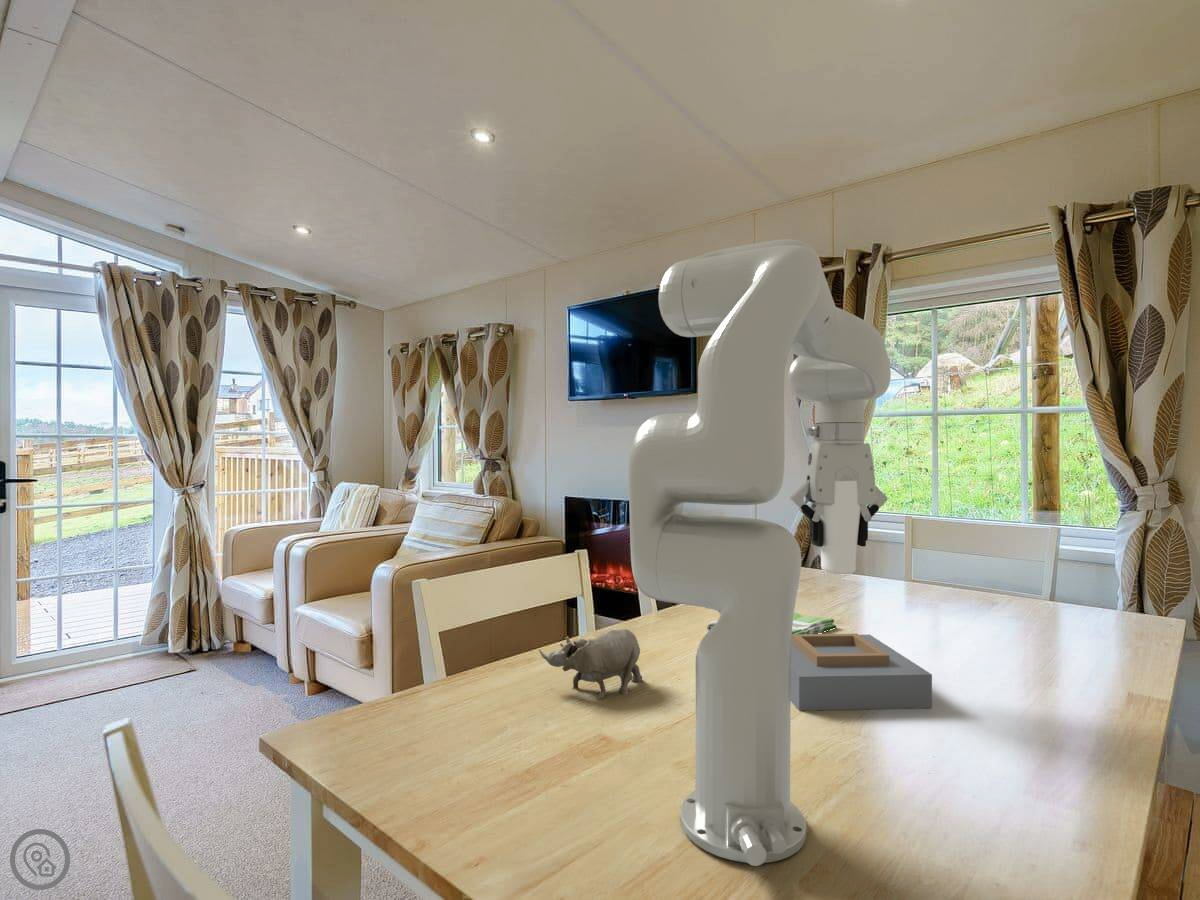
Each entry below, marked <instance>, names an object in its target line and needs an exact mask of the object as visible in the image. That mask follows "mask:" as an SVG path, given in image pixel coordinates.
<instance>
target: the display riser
mask: <svg viewBox="0 0 1200 900" xmlns="http://www.w3.org/2000/svg"><path fill="white" fill-rule="evenodd" d="M932 692H933V674H932V673H931V672H929V671H928V670H926V669H924V668H923V667H921V666H919V665H918V664H916V663H915V662H913V661H911V660H910V659H908V658H907V657H906V656H905V655H902V654H901V653H899V652H898V651H896V650H894V649H893V648H892V647H889V646H888V645H886V644H885V643H884V642H882V641H880V639H878V638H876V637H874V636H873V635H871V634H858V633H823V634H792V640H791V700H790V703H792V704H793V705H794V706H795V708H796V709H797V710H798V712H799V711H801V712H802V711H838V710H839V711H841V710H845V711H846V710H847V711H849V710H852V711H853V710H854V709H855V710H895V709H896V710H899V709H903V710H905V709H932V708H933V706H932V705H933V701H932V700H933V699H932V698H933V693H932Z"/></svg>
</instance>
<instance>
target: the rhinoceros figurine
mask: <svg viewBox="0 0 1200 900" xmlns="http://www.w3.org/2000/svg"><path fill="white" fill-rule="evenodd" d="M565 640H566V644H565V645H564V644H563V643H562V642H561V643H559V645H560V647H562V648H561V649H560V650H559V651H556V650H551V651H550V653H549V654H548V655H547V654H546V653H544V652H542V650H541V649H538V651H539V654H540V655H541V658H543V659H544V660H545V661H546V662H547V663H548V665H550V666H552V667H555V668H556V667H557V668H560V667H562V669H561V670H563V672H568V671H570V670H574V671H576V672H577V673H576V674H575V675H574V676H573V678H572V683H573V685H572V686H573V687H572V688H571V690H573V689H574V690H573V691H578V690H577V689H578V688H579V682H580V681H585V682H588V683H597V684H598V685H599V689H600V692H599V693H598V695H597V699H598V700H602V699H604V698H606V693H607V689H606V686H605V682H604V680H608V679H610V678H614V677H616V676H617V677H619V678H620V687H619V688H618V689H619V691H618V692H619V693H620V694H621V695H628V694H629V687H628V685H629V683H630V682H632V683H633V684H640V683H642V682H643V676H642V674H641V672H640V666H638V664H637V662H638V660H639V658H640V653H641V648H640V646H639V645H640V643H639V642H638V640H637V637H636V636H635V633H633V632H632V631H631V630H630V629H627V628H622V629H612V630H607V631H604V632H602V633H601V634H600V635H599V636H597V637H595V638H593V639H591V638H588V639H585V638H580V639H576V640H573V643H572V642H571V640H570V637H569V636H568V635H567V636H565Z"/></svg>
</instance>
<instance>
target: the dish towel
mask: <svg viewBox="0 0 1200 900" xmlns="http://www.w3.org/2000/svg"><path fill="white" fill-rule="evenodd" d="M717 621H718V620H713V621H710V622H709V623H708V624H707V626H706V630H707V632H708V631H709V630H710V629H711V628H712V627H713V626H714V625H715V624H716V623H717ZM834 623H835V619H834V618H829V617H816V616H811V615H802V614H799V613H798V612H795V611H794V617H793V625H792V634H818V633H823V632H824V631H827V630H828V631H829V630H830V629H833V628H836V629H837V625H836V624H834ZM829 632H830V631H829ZM823 634H824V633H823Z"/></svg>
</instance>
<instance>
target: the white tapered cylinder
mask: <svg viewBox="0 0 1200 900" xmlns="http://www.w3.org/2000/svg"><path fill="white" fill-rule="evenodd" d="M857 499H858V497H857V482H856V481H855V480H854V481H835V504H833V505H824V507H823V508H824V511H823V513H822V516H821V522H823V546H822V547H819V549H820V568H821V570H822V571H823V572H826V573H827V574H828V573H829V574H834V575H848V574H849V575H850V574H854V573H855V572H856V571H857V554H858V553H857V550H858V545H857V541H858V531H859V521H860V510H861V505H858V504H857Z"/></svg>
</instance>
